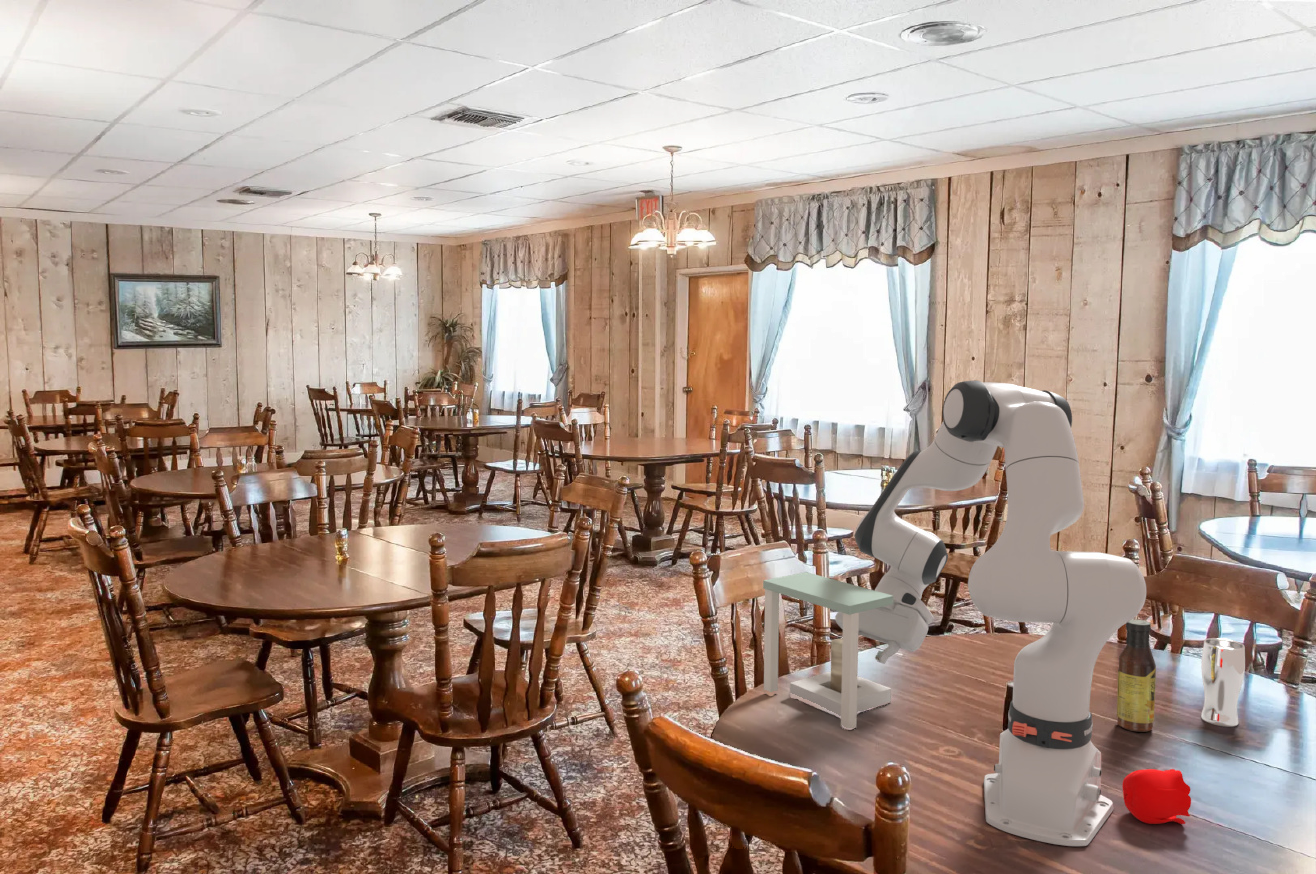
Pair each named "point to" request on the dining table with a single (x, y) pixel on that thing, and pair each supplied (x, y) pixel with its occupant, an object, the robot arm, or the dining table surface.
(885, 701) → the socket plate
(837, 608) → the small side table
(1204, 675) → the beer glass
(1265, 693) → the dining table surface
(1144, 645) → the sauce bottle
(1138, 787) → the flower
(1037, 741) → the robot arm
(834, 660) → the birch peg
